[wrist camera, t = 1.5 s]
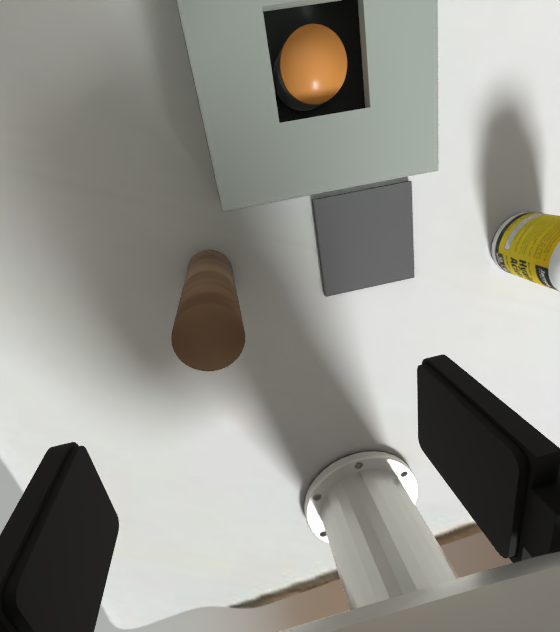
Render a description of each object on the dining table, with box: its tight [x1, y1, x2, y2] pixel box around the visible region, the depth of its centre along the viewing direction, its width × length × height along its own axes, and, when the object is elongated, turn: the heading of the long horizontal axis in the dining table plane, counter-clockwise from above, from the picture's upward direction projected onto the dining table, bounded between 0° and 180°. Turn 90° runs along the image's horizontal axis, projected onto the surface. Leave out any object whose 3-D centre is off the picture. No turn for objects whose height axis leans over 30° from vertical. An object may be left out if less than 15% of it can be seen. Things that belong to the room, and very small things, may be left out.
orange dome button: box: [273, 24, 347, 111], centre depth 24 cm, size 4×4×3 cm
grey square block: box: [177, 0, 438, 212], centre depth 24 cm, size 14×14×6 cm
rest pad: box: [312, 181, 414, 296], centre depth 31 cm, size 8×8×1 cm
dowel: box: [172, 250, 245, 371], centre depth 24 cm, size 4×4×13 cm
